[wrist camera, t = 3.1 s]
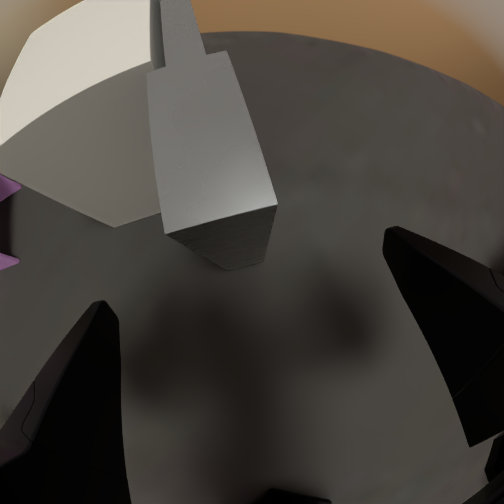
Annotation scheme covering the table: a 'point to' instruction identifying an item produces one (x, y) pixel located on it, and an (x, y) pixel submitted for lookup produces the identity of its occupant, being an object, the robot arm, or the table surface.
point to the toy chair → (3, 189)
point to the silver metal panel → (206, 150)
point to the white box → (86, 110)
